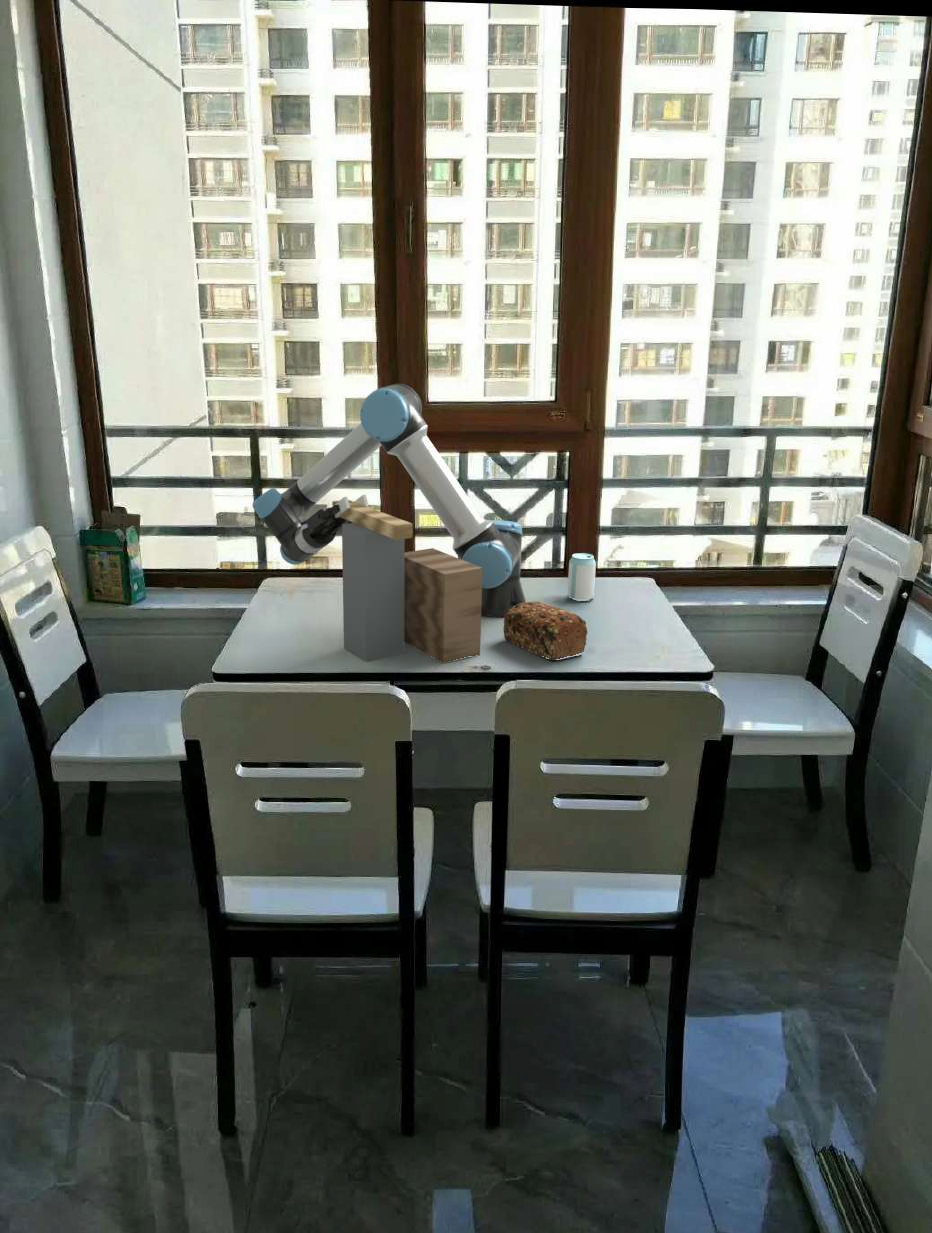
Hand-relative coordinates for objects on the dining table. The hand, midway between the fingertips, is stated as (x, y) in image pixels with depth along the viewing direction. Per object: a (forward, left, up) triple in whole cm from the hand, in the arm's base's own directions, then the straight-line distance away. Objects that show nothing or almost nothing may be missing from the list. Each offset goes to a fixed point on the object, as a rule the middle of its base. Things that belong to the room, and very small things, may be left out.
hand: (356, 501), depth 223 cm
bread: (-43, -2, -34) cm, 55 cm away
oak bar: (-4, +5, -4) cm, 8 cm away
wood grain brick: (-19, 0, -33) cm, 38 cm away
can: (-53, -42, -33) cm, 75 cm away
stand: (-5, +6, -33) cm, 34 cm away
